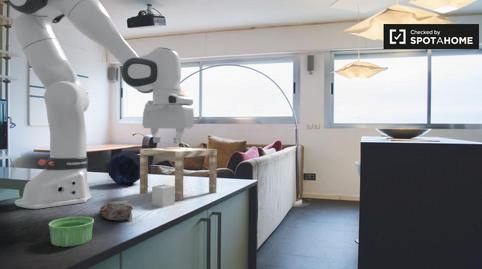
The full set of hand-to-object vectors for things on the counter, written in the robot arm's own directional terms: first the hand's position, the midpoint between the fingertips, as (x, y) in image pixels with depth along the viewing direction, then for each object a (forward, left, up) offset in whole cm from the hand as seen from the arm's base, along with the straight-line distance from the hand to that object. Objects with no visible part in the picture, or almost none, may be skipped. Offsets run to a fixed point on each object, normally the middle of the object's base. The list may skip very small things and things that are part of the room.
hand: (166, 142), depth 115 cm
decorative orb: (+16, +42, -20) cm, 49 cm away
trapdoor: (+16, +11, -4) cm, 20 cm away
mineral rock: (-20, -1, -20) cm, 28 cm away
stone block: (-1, +1, -20) cm, 20 cm away
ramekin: (-38, -10, -20) cm, 44 cm away
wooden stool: (+16, +11, -20) cm, 28 cm away
